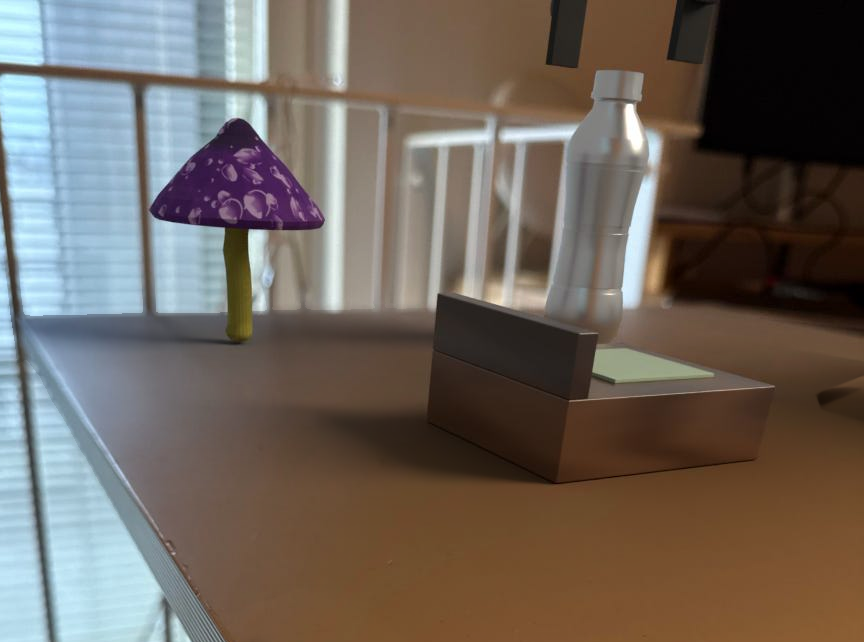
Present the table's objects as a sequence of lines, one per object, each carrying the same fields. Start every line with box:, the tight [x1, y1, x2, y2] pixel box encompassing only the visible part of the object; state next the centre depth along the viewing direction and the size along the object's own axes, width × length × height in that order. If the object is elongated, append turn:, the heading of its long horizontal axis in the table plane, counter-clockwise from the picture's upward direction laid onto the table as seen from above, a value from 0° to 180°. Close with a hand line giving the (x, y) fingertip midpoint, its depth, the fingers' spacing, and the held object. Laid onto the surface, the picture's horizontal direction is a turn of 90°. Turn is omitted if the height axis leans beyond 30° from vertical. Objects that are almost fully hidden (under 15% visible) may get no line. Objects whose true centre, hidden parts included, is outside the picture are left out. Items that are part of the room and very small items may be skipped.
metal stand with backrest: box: [426, 292, 776, 484], centre depth 52 cm, size 14×12×7 cm
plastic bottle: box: [543, 69, 650, 344], centre depth 76 cm, size 6×7×20 cm
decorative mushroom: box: [148, 117, 326, 344], centre depth 69 cm, size 12×12×15 cm
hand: (618, 65), depth 72 cm, fingers open, 13 cm apart
